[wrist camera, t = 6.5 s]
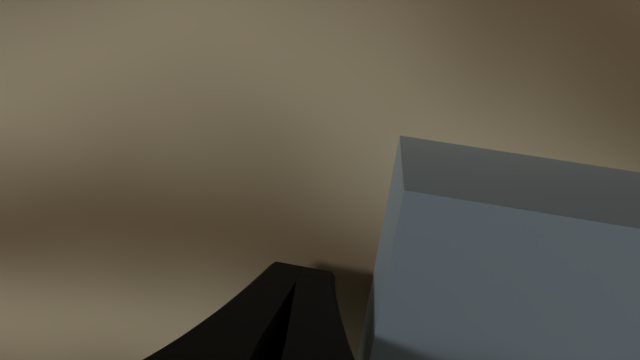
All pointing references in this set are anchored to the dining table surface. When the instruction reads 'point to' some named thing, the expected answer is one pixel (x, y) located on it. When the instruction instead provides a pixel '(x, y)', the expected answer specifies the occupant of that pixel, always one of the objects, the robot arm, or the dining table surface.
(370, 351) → the bevelled grey block
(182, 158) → the board
